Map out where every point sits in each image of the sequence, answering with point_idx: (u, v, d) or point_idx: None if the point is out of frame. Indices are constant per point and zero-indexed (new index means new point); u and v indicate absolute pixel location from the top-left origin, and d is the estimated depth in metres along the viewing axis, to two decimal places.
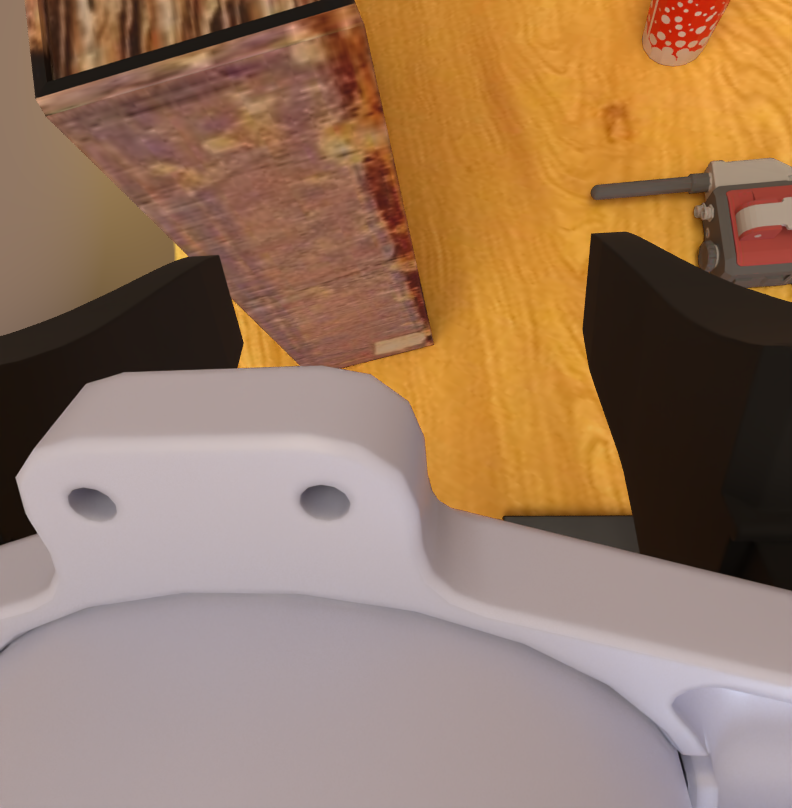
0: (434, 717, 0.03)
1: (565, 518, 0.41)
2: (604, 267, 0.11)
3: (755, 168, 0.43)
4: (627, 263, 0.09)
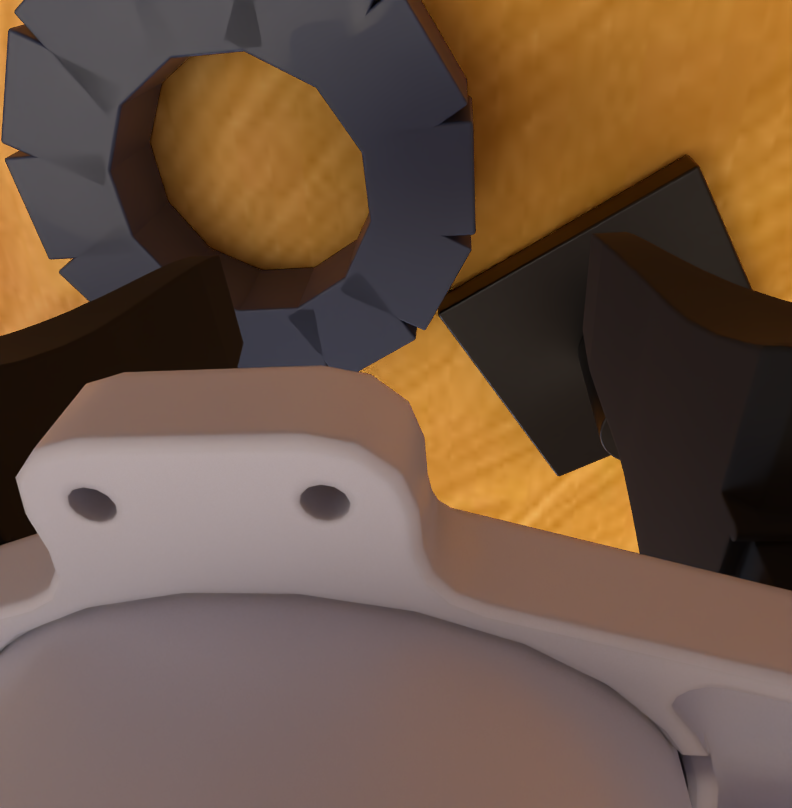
0: (434, 717, 0.03)
1: (738, 274, 0.20)
2: (603, 267, 0.11)
3: None
4: (627, 263, 0.09)
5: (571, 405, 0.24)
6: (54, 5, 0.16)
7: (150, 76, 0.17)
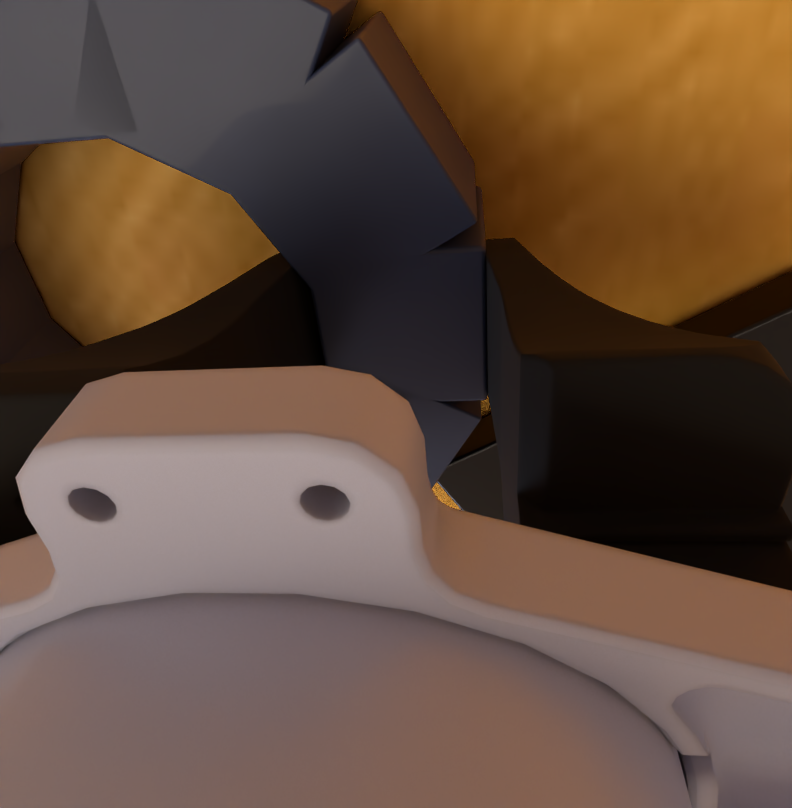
0: (434, 717, 0.03)
1: None
2: None
3: None
4: (492, 270, 0.10)
5: None
6: None
7: None
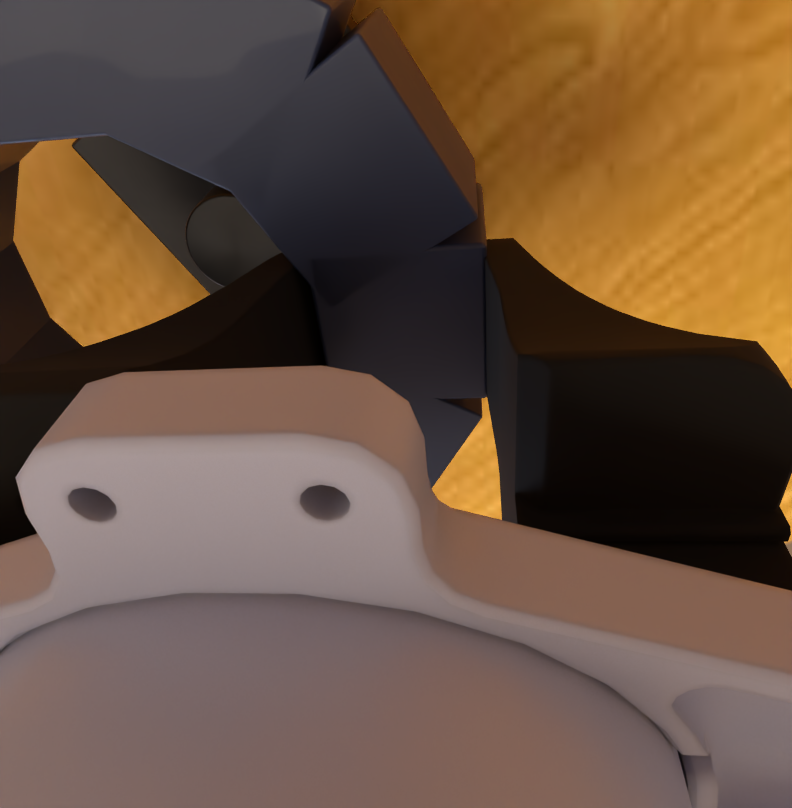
0: (434, 717, 0.03)
1: None
2: None
3: None
4: (491, 270, 0.10)
5: None
6: None
7: None
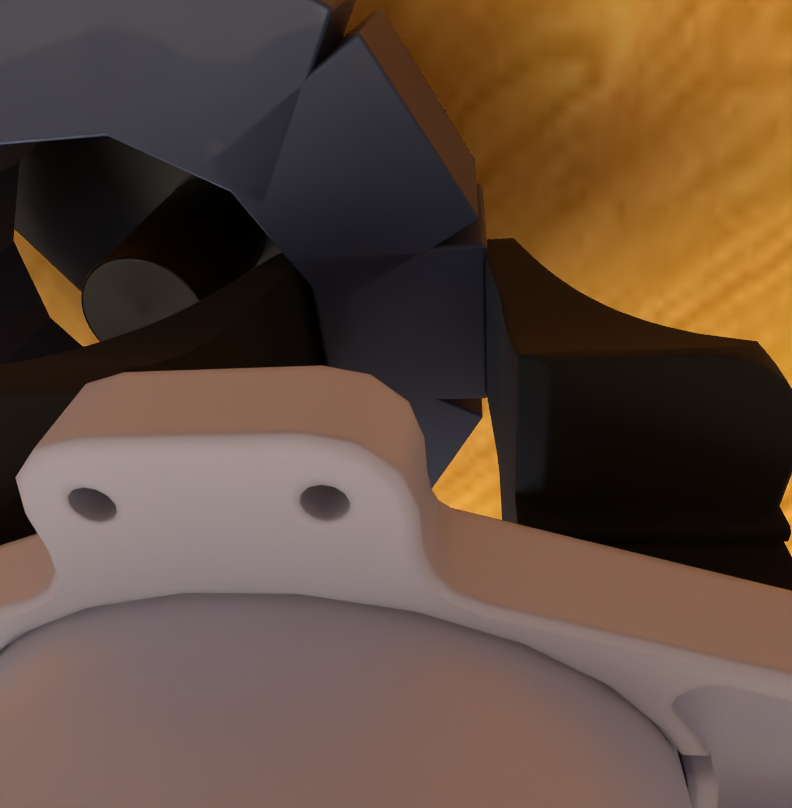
0: (434, 717, 0.03)
1: None
2: None
3: None
4: (491, 270, 0.10)
5: None
6: None
7: None
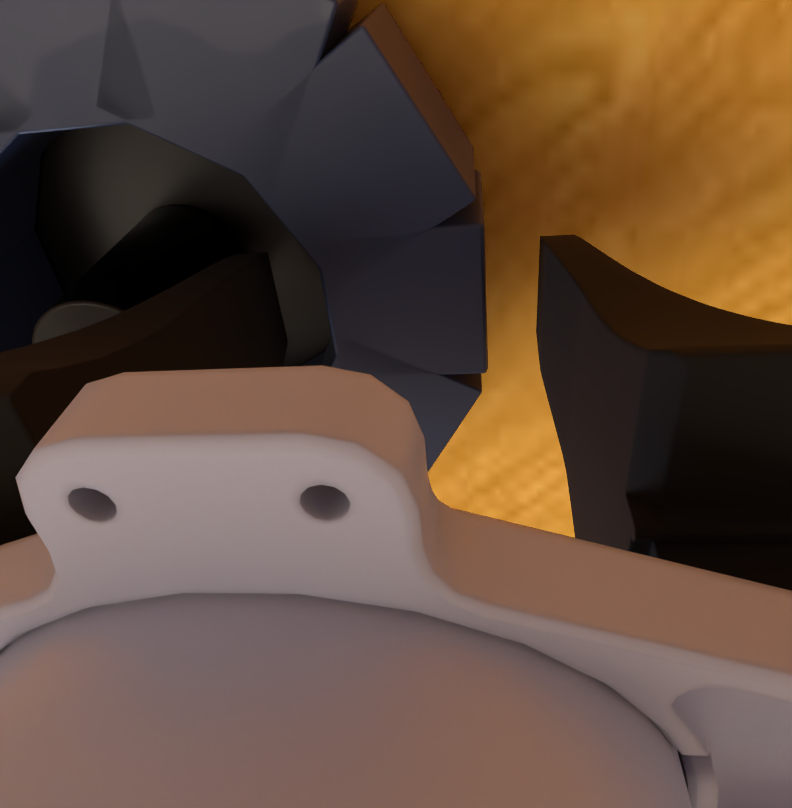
0: (434, 717, 0.03)
1: None
2: (548, 270, 0.11)
3: None
4: (564, 266, 0.10)
5: None
6: None
7: None
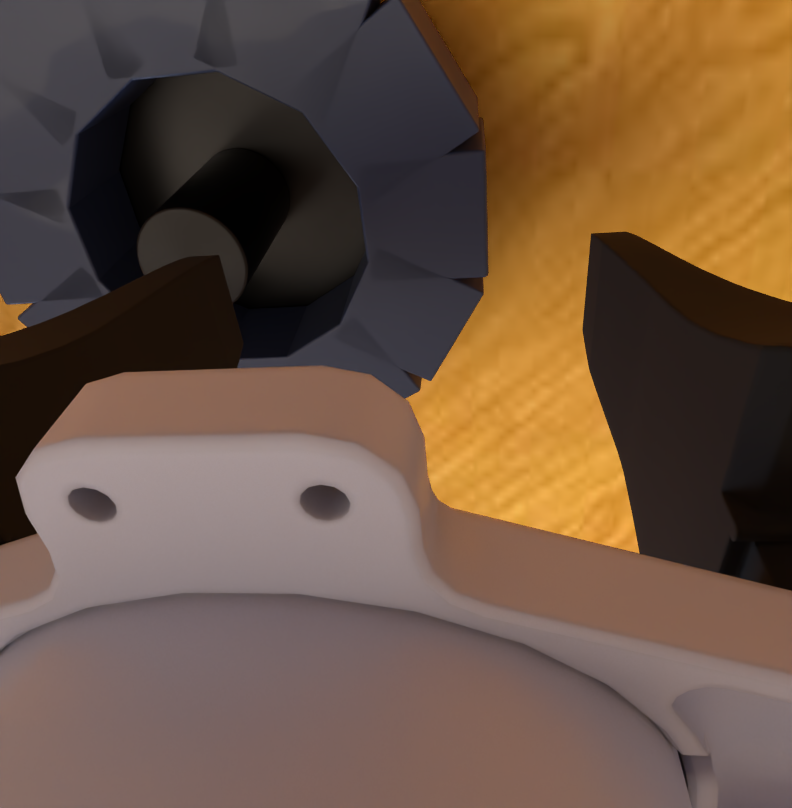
0: (434, 717, 0.03)
1: None
2: (603, 267, 0.11)
3: None
4: (627, 263, 0.09)
5: None
6: None
7: (109, 101, 0.14)
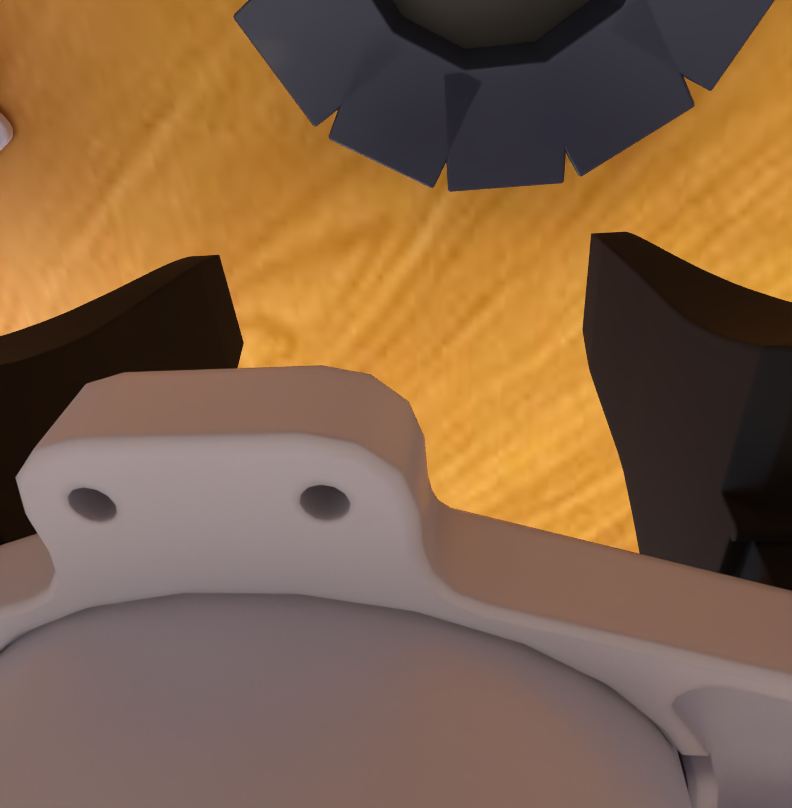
0: (434, 717, 0.03)
1: None
2: (603, 267, 0.11)
3: None
4: (627, 263, 0.09)
5: (441, 2, 0.17)
6: None
7: None
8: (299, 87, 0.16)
